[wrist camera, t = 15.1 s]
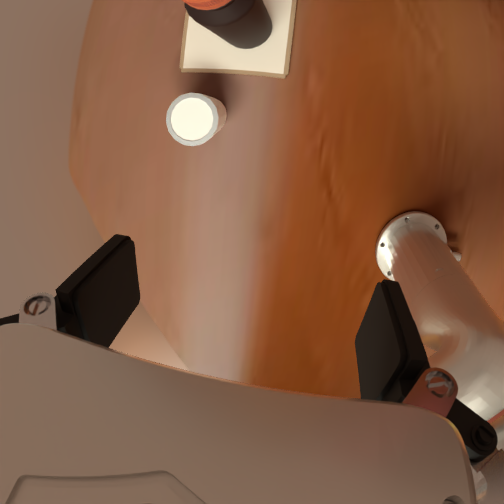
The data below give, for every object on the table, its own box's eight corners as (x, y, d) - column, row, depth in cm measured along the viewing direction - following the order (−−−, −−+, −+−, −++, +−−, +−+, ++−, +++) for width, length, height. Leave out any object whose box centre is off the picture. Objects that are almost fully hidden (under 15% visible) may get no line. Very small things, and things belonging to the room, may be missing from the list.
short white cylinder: (186, 139, 43) (167, 147, 37) (184, 94, 39) (164, 95, 33) (231, 137, 42) (219, 145, 36) (230, 91, 39) (217, 90, 32)
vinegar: (256, -2, 31) (219, -67, 13) (282, 35, 33) (264, -15, 16) (214, 22, 33) (147, -23, 16) (238, 58, 35) (185, 29, 18)
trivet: (298, -16, 29) (298, -18, 28) (287, 79, 37) (287, 78, 36) (192, -18, 30) (190, -20, 30) (180, 72, 38) (178, 72, 37)
